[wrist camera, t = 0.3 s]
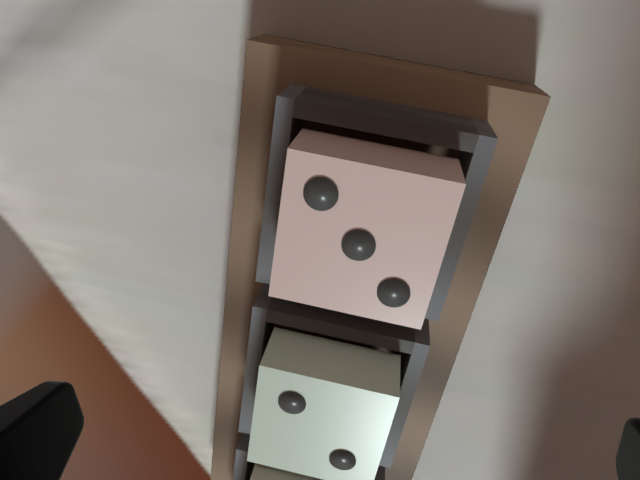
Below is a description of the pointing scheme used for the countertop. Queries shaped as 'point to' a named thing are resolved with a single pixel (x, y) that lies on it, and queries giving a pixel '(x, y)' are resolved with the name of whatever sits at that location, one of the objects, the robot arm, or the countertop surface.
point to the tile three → (363, 226)
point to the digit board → (384, 128)
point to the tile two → (323, 406)
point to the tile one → (276, 474)
